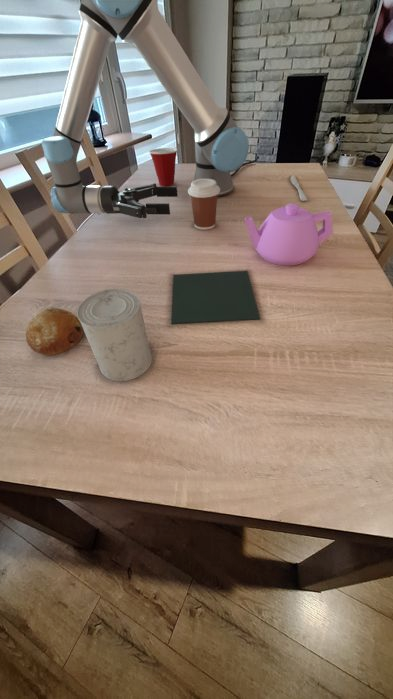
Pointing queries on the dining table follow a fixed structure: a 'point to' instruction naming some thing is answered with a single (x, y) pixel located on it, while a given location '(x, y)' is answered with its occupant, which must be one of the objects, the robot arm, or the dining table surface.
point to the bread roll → (53, 331)
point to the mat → (213, 298)
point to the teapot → (289, 234)
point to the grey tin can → (116, 333)
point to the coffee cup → (204, 202)
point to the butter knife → (295, 183)
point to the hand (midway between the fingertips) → (173, 199)
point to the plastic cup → (164, 164)
